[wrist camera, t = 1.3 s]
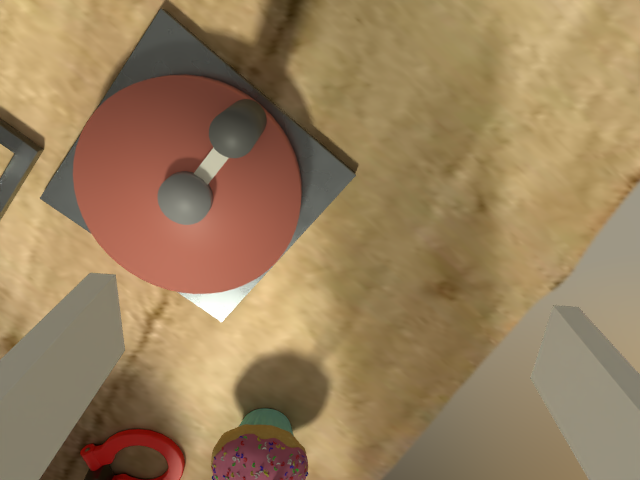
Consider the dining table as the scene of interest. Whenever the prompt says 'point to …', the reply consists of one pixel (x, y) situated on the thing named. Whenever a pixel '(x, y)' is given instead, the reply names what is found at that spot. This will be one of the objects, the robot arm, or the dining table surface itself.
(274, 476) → the cupcake
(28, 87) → the dining table surface
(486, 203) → the dining table surface
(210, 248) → the red disc with handle
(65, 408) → the robot arm
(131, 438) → the tow hook
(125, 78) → the wheel base
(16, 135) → the grey flat square frame
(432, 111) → the dining table surface
